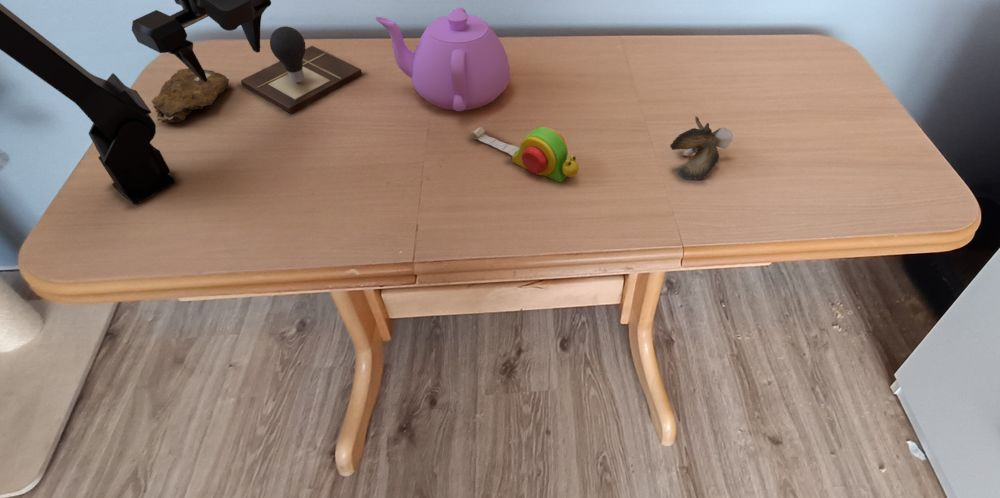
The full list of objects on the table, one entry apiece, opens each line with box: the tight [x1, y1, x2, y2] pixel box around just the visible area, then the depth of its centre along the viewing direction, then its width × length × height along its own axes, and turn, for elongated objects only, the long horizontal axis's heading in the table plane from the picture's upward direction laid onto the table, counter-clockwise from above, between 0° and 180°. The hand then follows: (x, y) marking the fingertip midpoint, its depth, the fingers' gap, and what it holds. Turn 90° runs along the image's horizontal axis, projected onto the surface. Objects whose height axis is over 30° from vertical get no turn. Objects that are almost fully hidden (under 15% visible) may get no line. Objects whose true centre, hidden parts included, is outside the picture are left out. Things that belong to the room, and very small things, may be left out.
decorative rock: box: [151, 67, 230, 124], centre depth 100 cm, size 11×4×15 cm
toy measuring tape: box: [470, 126, 580, 183], centre depth 88 cm, size 6×20×7 cm, turn 51°
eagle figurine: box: [669, 115, 734, 181], centre depth 88 cm, size 8×7×9 cm
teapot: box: [375, 7, 511, 112], centre depth 99 cm, size 22×22×14 cm
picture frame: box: [240, 45, 363, 115], centre depth 106 cm, size 16×14×1 cm
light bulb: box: [269, 25, 307, 84], centre depth 99 cm, size 6×6×10 cm
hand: (231, 65), depth 84 cm, fingers open, 9 cm apart
